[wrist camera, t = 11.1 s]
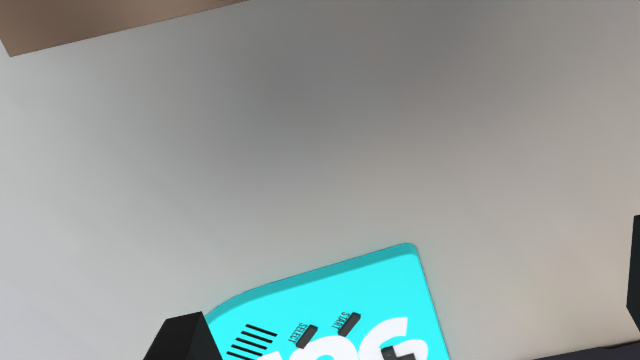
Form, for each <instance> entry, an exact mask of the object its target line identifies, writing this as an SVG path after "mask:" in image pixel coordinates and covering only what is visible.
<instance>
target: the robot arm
mask: <svg viewBox="0 0 640 360" xmlns="http://www.w3.org/2000/svg"><path fill="white" fill-rule="evenodd" d="M626 307H627V309H628V311H629V313H630V315H631V316H632V318H633V320H634V322H635V324H636V326H637V328H638V329H639V331H640V215H636V216H634V221H633V233H632V245H631V257H630V269H629V281H628V293H627V305H626ZM143 360H223V359H222V356H221V354H220V352H219V349H218V347H217V345H216V343H215V340H214V338H213V336H212V334H211V331H210V329H209V327H208V325H207V322H206V320H205V318H204V316H203V313H202V311H201V312H196V313H192V314H187V315H183V316H178V317H174V318H169V319H166V320H165V322H164V323H163V325H162V327H161V328H160V330H159V332H158V334H157V335H156V337H155V339H154V341H153V343H152V345H151V346H150V348H149V350H148V352H147V354H146V355H145V357H144V359H143Z"/></svg>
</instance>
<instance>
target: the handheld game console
mask: <svg viewBox="0 0 640 360" xmlns="http://www.w3.org/2000/svg"><path fill="white" fill-rule="evenodd" d="M204 318H205V320H206V322H207V325H208V327H209V329H210V331H211V334H212V336H213V338H214V340H215V343H216V345H217V347H218V349H219V352H220V354H221V356H222V359H223V360H450V358H449V355H448V352H447V348H446V345H445V342H444V339H443V335H442V332H441V329H440V325H439V322H438V319H437V316H436V312H435V309H434V306H433V303H432V299H431V296H430V293H429V289H428V286H427V283H426V280H425V276H424V273H423V270H422V267H421V263H420V260H419V257H418V254H417V251H416V248H415V246H414V245H412V244H400V245H397V246H394V247H390V248H387V249H384V250H380V251H377V252H374V253H370V254H367V255H364V256H360V257H357V258H354V259H350V260H347V261H343V262H340V263H337V264H333V265H330V266H327V267H323V268H320V269H317V270H313V271H310V272H307V273H303V274H300V275H297V276H293V277H290V278H287V279H283V280H280V281H277V282H273V283H270V284H266V285H264V286H261V287H258V288H255V289H252V290H249V291H247V292H244V293H242V294H240V295H238V296H236V297H234V298H231V299H230V300H228V301H226V302H225V303H223V304H221V305H220V306H218V307H217V308H216V309H214V310H213V311H212V312H211V313H209V314H208V315H207V316H206V317H204Z"/></svg>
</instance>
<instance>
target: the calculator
mask: <svg viewBox="0 0 640 360" xmlns="http://www.w3.org/2000/svg"><path fill="white" fill-rule="evenodd" d="M534 360H640V342H639V343H635V344H630V345H626V346H622V347H617V348H613V349H605V348H600V347H597V348H591V349H586V350H580V351H575V352H570V353H565V354H560V355H555V356H549V357H544V358H539V359H534Z"/></svg>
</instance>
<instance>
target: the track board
mask: <svg viewBox="0 0 640 360" xmlns="http://www.w3.org/2000/svg"><path fill="white" fill-rule="evenodd" d="M244 1H248V0H0V39H1V41H2V43H3V45H4V47H5V49H6V51H7V53H8V54H9V56H10V57H13V56H17V55H21V54H25V53H30V52H34V51H38V50H42V49H46V48H51V47H55V46H59V45H63V44H67V43H72V42H76V41H80V40H84V39H88V38H93V37H97V36H101V35H105V34H109V33H114V32H118V31H122V30H126V29H130V28H135V27H139V26H143V25H147V24H151V23H156V22H160V21H164V20H168V19H172V18H177V17H181V16H185V15H189V14H193V13H198V12H202V11H206V10H210V9H214V8H219V7H223V6H227V5H231V4H235V3H240V2H244Z"/></svg>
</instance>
